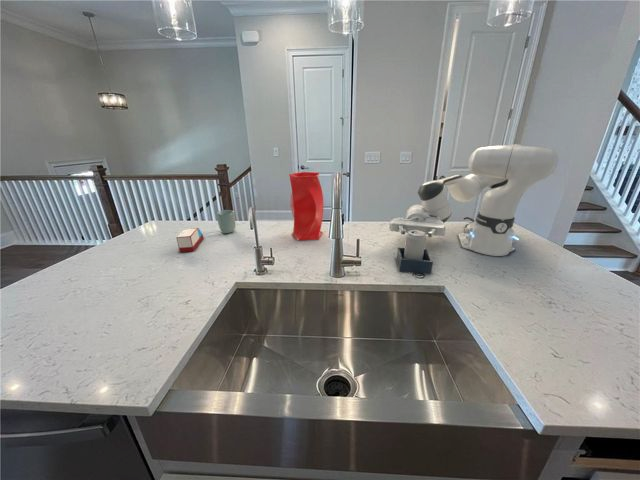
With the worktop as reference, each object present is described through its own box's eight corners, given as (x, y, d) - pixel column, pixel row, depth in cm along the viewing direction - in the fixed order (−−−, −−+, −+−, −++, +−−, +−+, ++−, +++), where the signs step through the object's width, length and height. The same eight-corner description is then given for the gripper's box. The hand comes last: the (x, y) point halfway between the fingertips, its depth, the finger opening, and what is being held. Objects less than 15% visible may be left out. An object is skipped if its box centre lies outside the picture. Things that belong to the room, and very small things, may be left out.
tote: (396, 258, 98) (397, 247, 96) (424, 260, 96) (426, 249, 94) (399, 271, 88) (401, 259, 86) (431, 273, 87) (433, 261, 85)
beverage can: (408, 258, 96) (412, 228, 92) (425, 263, 92) (430, 232, 87) (399, 263, 92) (403, 232, 88) (416, 270, 88) (421, 237, 83)
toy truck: (203, 237, 120) (200, 224, 117) (193, 251, 106) (190, 236, 103) (191, 238, 119) (188, 225, 117) (179, 252, 105) (175, 237, 103)
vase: (313, 228, 130) (312, 171, 119) (330, 236, 119) (330, 174, 108) (286, 234, 122) (282, 174, 112) (301, 244, 111) (298, 178, 100)
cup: (216, 234, 124) (213, 214, 120) (225, 228, 131) (221, 209, 127) (232, 235, 123) (228, 214, 119) (239, 229, 130) (236, 210, 126)
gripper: (391, 212, 109) (388, 223, 97) (444, 217, 103) (448, 228, 90) (389, 227, 111) (386, 238, 99) (441, 232, 105) (445, 244, 93)
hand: (416, 233), depth 95 cm, fingers open, 8 cm apart
